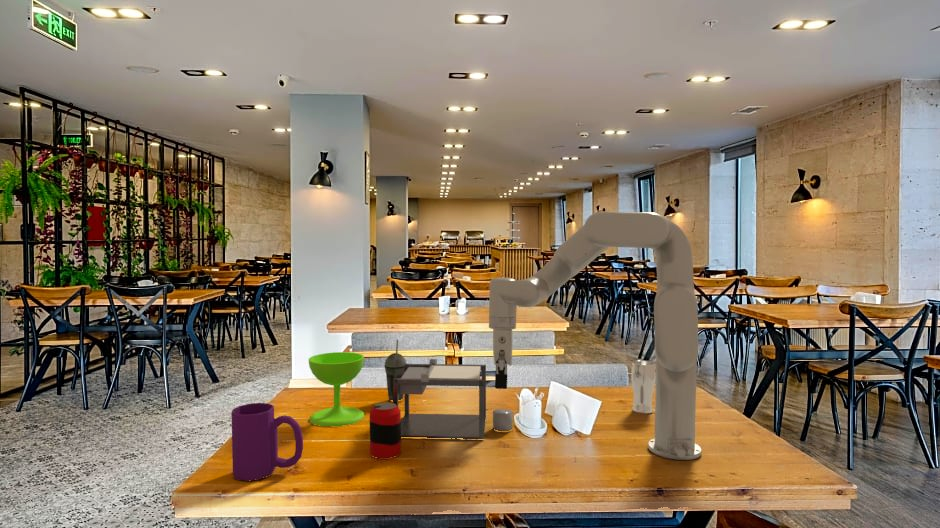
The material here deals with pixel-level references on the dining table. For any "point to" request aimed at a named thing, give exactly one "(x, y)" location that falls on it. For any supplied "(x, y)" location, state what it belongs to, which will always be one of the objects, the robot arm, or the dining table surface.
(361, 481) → the dining table surface
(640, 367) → the beer glass
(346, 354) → the wineglass
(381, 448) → the soda can
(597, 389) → the dining table surface
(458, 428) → the frame
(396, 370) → the beverage cup
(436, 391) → the dining table surface
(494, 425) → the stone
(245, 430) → the mug
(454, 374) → the trapdoor
